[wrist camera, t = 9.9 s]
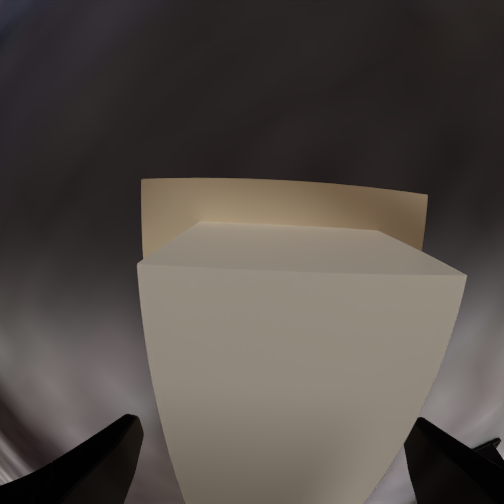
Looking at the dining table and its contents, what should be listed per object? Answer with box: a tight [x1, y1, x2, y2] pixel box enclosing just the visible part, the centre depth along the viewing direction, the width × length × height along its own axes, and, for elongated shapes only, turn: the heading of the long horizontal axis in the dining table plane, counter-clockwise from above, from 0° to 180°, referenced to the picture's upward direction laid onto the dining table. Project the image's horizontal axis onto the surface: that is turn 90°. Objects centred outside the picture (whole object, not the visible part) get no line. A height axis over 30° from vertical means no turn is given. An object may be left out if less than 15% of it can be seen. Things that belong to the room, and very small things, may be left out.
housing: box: [137, 222, 467, 504], centre depth 8 cm, size 12×6×5 cm, turn 178°
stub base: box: [141, 178, 428, 259], centre depth 10 cm, size 15×10×4 cm, turn 178°
